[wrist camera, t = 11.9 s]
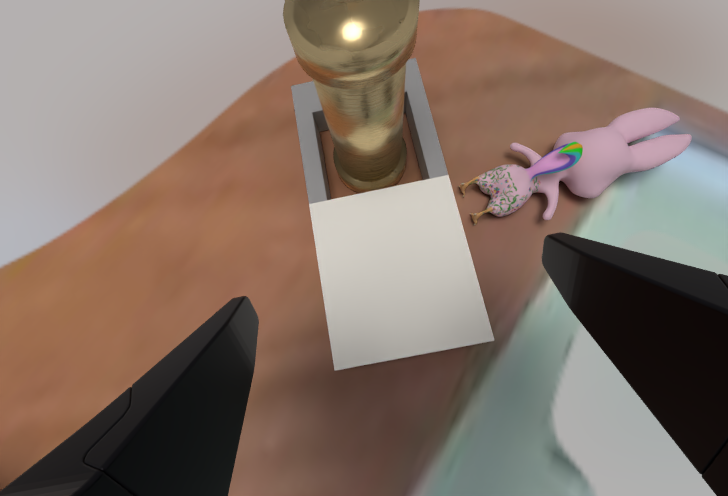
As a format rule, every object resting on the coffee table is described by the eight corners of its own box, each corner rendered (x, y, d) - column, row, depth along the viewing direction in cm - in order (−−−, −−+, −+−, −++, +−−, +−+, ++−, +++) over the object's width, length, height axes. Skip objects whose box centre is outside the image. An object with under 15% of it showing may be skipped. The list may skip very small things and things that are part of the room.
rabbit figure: (478, 248, 24) (690, 177, 22) (489, 230, 19) (777, 131, 16) (450, 178, 26) (645, 104, 23) (452, 142, 20) (710, 39, 18)
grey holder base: (483, 338, 21) (494, 340, 19) (340, 365, 22) (334, 370, 19) (413, 81, 27) (415, 58, 24) (300, 107, 27) (291, 86, 25)
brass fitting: (418, 151, 25) (445, -20, 13) (381, 207, 24) (369, 83, 12) (361, 121, 26) (333, -64, 14) (323, 173, 26) (256, 27, 13)
